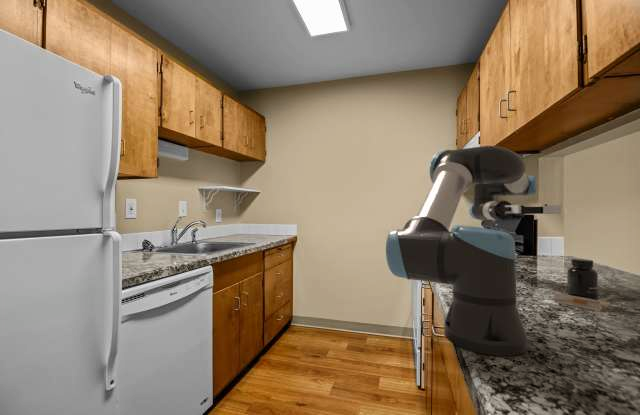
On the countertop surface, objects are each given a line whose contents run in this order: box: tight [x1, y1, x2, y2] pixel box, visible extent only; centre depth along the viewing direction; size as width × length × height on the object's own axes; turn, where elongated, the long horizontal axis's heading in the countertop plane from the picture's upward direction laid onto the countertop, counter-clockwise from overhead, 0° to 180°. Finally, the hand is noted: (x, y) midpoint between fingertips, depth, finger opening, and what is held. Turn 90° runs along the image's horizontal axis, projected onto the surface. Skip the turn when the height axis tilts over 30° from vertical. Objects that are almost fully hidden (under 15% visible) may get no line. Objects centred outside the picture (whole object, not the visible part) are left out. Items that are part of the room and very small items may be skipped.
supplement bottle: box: [566, 258, 599, 300], centre depth 89 cm, size 7×7×12 cm
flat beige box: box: [553, 292, 612, 312], centre depth 89 cm, size 10×10×3 cm
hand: (539, 209), depth 99 cm, fingers open, 13 cm apart
